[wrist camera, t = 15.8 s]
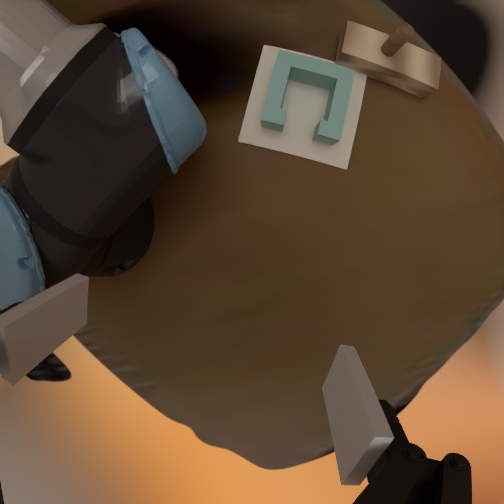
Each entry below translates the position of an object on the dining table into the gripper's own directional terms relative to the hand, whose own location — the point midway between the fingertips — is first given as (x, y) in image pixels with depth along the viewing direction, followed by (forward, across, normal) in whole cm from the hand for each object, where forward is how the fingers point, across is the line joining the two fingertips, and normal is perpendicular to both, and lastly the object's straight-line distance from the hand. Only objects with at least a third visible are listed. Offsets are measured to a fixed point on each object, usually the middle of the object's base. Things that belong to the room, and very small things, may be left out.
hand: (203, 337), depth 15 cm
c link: (+26, +3, +19) cm, 33 cm away
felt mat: (+27, +3, +19) cm, 33 cm away
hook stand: (+27, +12, +28) cm, 41 cm away
